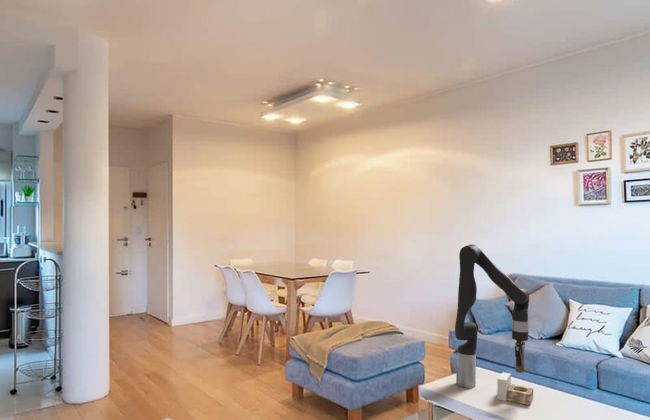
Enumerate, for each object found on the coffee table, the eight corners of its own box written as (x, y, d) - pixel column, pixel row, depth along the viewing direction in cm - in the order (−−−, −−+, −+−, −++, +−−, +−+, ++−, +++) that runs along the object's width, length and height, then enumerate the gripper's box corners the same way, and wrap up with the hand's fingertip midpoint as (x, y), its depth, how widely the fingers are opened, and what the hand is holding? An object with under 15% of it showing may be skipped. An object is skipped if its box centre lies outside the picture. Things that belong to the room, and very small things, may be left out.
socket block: (507, 400, 217) (507, 390, 217) (511, 394, 225) (511, 384, 225) (530, 405, 211) (530, 394, 212) (533, 398, 220) (533, 388, 220)
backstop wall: (497, 399, 219) (497, 378, 219) (502, 391, 229) (502, 372, 229) (505, 401, 216) (506, 380, 217) (510, 393, 226) (510, 373, 227)
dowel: (514, 371, 218) (514, 346, 219) (516, 369, 222) (516, 345, 222) (523, 373, 216) (523, 348, 216) (525, 371, 219) (525, 346, 220)
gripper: (525, 333, 212) (525, 370, 211) (530, 328, 223) (530, 362, 223) (509, 331, 216) (508, 367, 215) (514, 326, 228) (514, 360, 227)
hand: (519, 364), depth 219 cm, fingers closed on dowel, 4 cm apart
